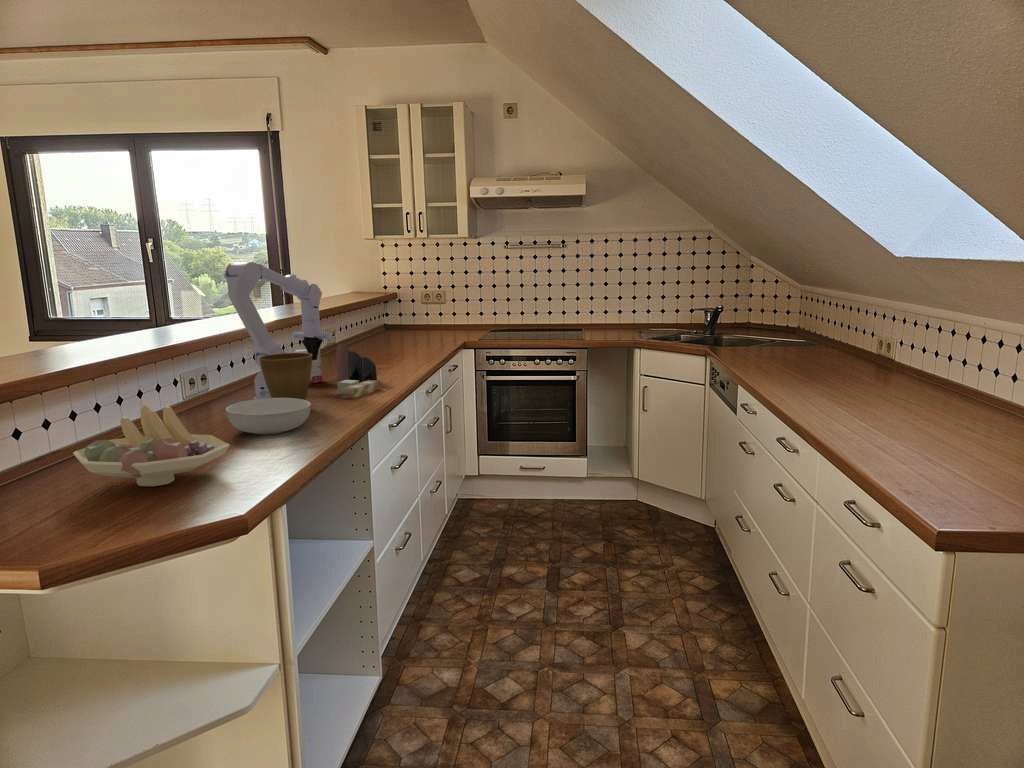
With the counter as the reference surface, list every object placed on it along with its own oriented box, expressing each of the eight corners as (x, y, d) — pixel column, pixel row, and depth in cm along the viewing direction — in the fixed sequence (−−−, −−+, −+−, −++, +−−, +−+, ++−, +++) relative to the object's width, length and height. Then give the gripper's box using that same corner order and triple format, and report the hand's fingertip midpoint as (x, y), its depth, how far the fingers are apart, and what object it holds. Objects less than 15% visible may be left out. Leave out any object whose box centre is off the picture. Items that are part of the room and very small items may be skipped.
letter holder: (348, 389, 238) (346, 348, 236) (337, 380, 256) (335, 341, 253) (377, 386, 242) (375, 346, 240) (364, 377, 260) (362, 340, 258)
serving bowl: (287, 443, 172) (285, 415, 170) (210, 439, 176) (208, 412, 175) (326, 422, 192) (324, 398, 190) (256, 420, 196) (254, 396, 195)
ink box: (322, 380, 255) (320, 348, 253) (322, 383, 250) (320, 350, 248) (297, 382, 253) (295, 349, 251) (296, 384, 248) (294, 351, 246)
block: (351, 395, 228) (350, 383, 228) (338, 394, 230) (337, 382, 229) (359, 392, 233) (358, 380, 232) (346, 391, 235) (345, 379, 234)
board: (352, 398, 222) (352, 389, 222) (341, 398, 224) (341, 388, 223) (379, 389, 237) (378, 380, 236) (369, 388, 238) (368, 380, 238)
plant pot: (323, 403, 216) (319, 352, 213) (304, 414, 201) (300, 359, 198) (276, 403, 217) (272, 352, 214) (254, 414, 203) (249, 359, 200)
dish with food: (191, 454, 162) (185, 394, 160) (257, 477, 145) (251, 410, 142) (55, 486, 141) (45, 418, 139) (113, 518, 124) (103, 440, 121)
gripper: (336, 319, 237) (338, 358, 239) (300, 318, 242) (303, 357, 244) (323, 321, 230) (326, 362, 233) (287, 320, 235) (290, 360, 238)
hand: (313, 359), depth 238 cm, fingers closed
